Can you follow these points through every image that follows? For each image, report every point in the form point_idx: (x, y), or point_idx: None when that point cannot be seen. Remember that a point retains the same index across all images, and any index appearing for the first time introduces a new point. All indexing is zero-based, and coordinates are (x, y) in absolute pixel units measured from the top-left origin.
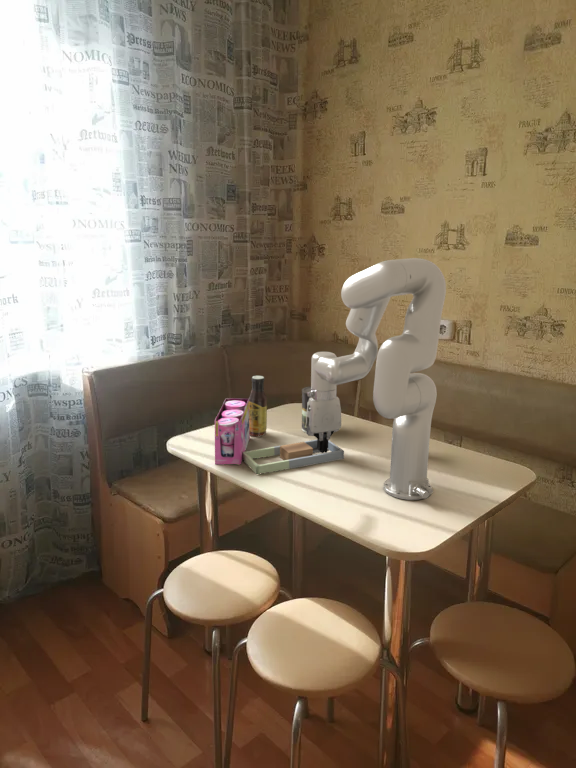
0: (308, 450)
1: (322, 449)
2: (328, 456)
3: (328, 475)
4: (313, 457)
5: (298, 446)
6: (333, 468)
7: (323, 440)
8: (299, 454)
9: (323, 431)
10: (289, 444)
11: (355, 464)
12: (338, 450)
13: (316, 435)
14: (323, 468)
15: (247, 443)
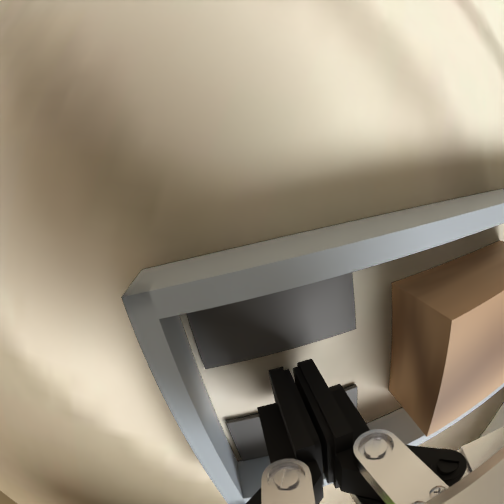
0: (473, 300)
1: (320, 379)
2: (309, 243)
3: (354, 9)
4: (447, 215)
5: (492, 357)
6: (292, 87)
7: (338, 446)
8: (500, 272)
9: (454, 501)
10: (501, 382)
11: (83, 132)
12: (174, 345)
13: (445, 458)
14: (366, 113)
15: (492, 426)
